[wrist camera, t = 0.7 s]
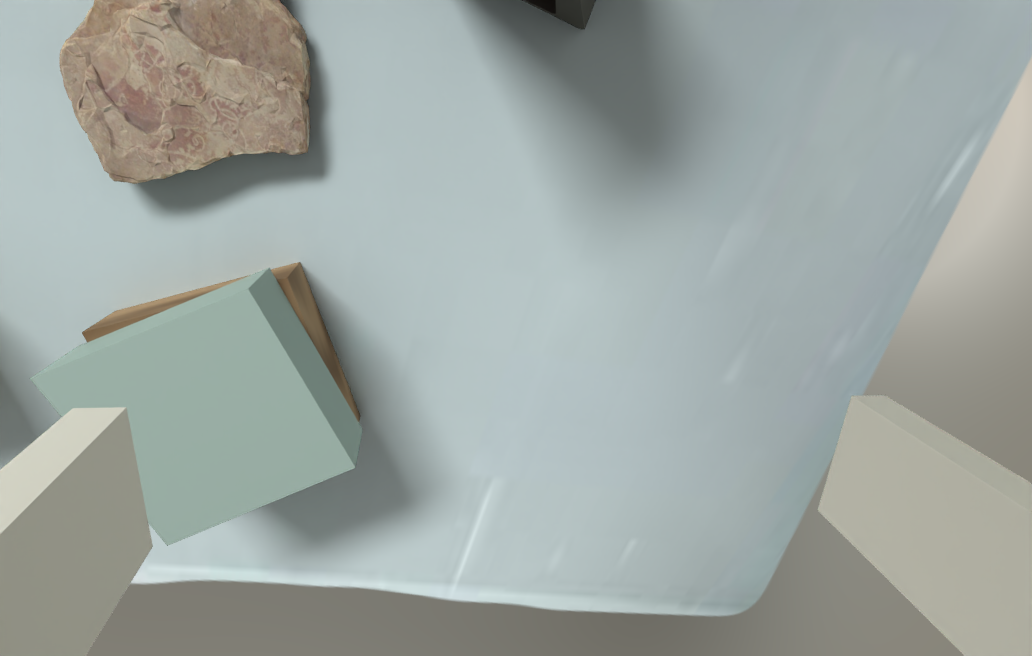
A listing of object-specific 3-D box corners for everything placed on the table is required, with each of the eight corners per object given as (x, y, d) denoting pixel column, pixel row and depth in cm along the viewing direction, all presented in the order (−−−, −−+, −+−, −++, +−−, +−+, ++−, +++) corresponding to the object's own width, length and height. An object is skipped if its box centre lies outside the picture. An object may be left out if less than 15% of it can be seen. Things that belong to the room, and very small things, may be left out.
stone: (23, -61, 27) (-18, -79, 25) (273, -96, 28) (259, -117, 26) (124, 185, 31) (99, 191, 29) (339, 146, 33) (332, 148, 30)
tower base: (118, 308, 34) (81, 332, 30) (301, 260, 34) (287, 277, 31) (199, 459, 38) (175, 496, 34) (360, 413, 39) (354, 444, 35)
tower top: (78, 346, 30) (30, 378, 27) (269, 267, 30) (247, 288, 27) (194, 499, 34) (167, 545, 31) (362, 429, 35) (355, 467, 31)
